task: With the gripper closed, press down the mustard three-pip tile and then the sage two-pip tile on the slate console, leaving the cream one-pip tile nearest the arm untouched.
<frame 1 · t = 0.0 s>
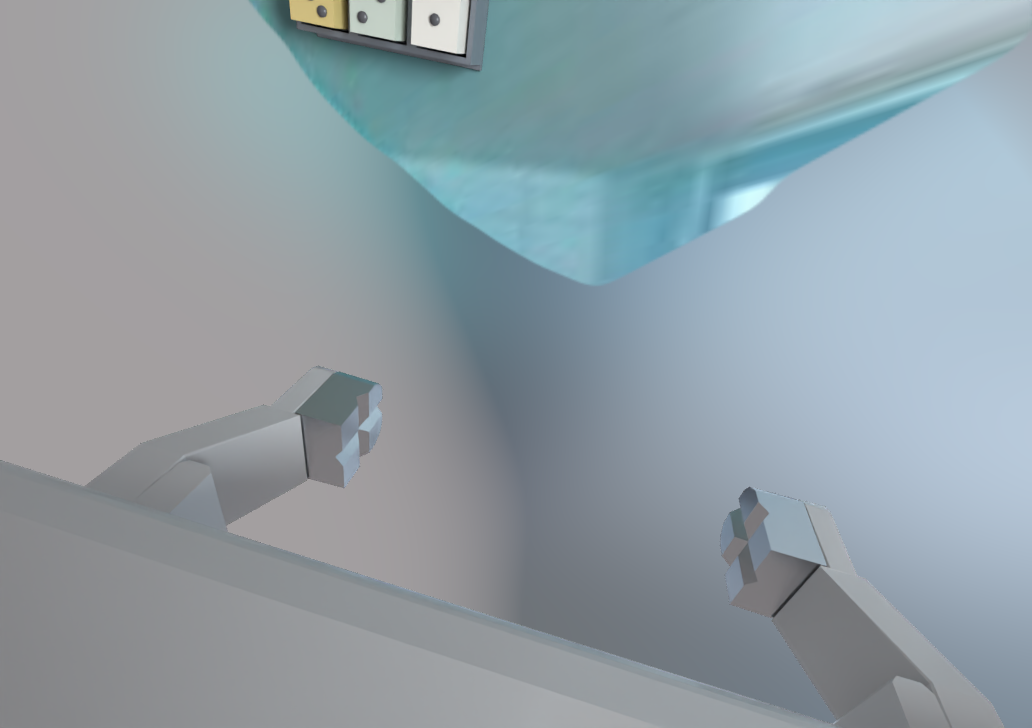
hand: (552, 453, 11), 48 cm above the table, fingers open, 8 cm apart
tile two: (380, 8, 45), point 4 cm above the table, slide at 0.0 cm
tile one: (441, 20, 44), point 4 cm above the table, slide at 0.0 cm
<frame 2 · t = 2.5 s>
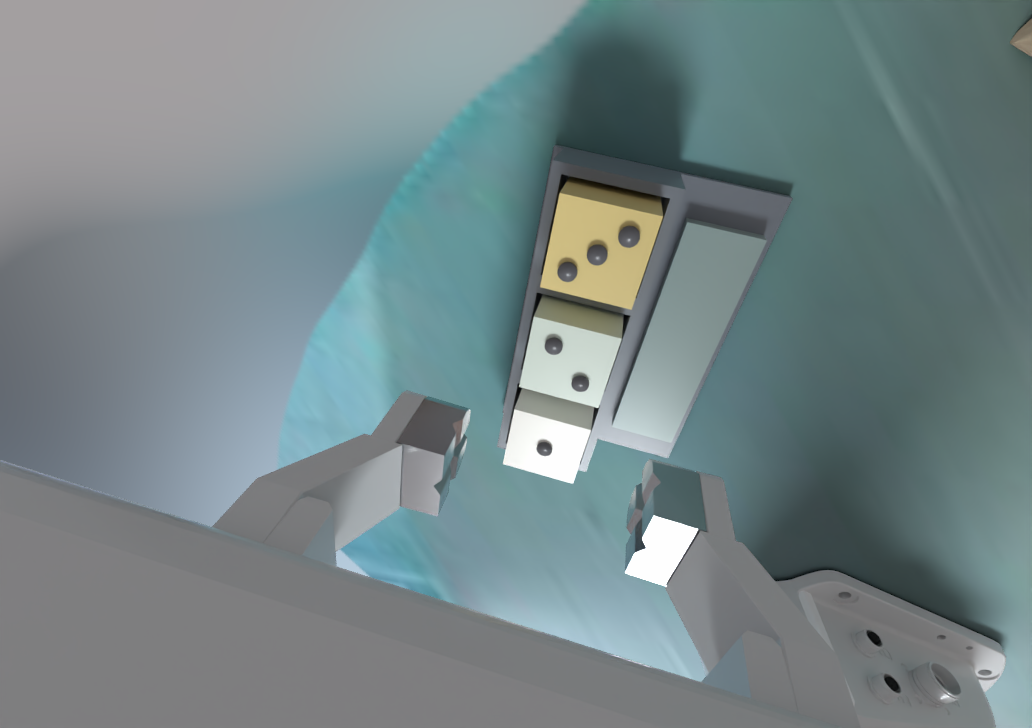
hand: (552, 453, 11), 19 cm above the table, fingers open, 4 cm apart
tile two: (571, 348, 26), point 4 cm above the table, slide at 0.0 cm
console: (620, 322, 29), on the table
tile three: (600, 242, 23), point 4 cm above the table, slide at 0.0 cm
tile one: (549, 429, 29), point 4 cm above the table, slide at 0.0 cm
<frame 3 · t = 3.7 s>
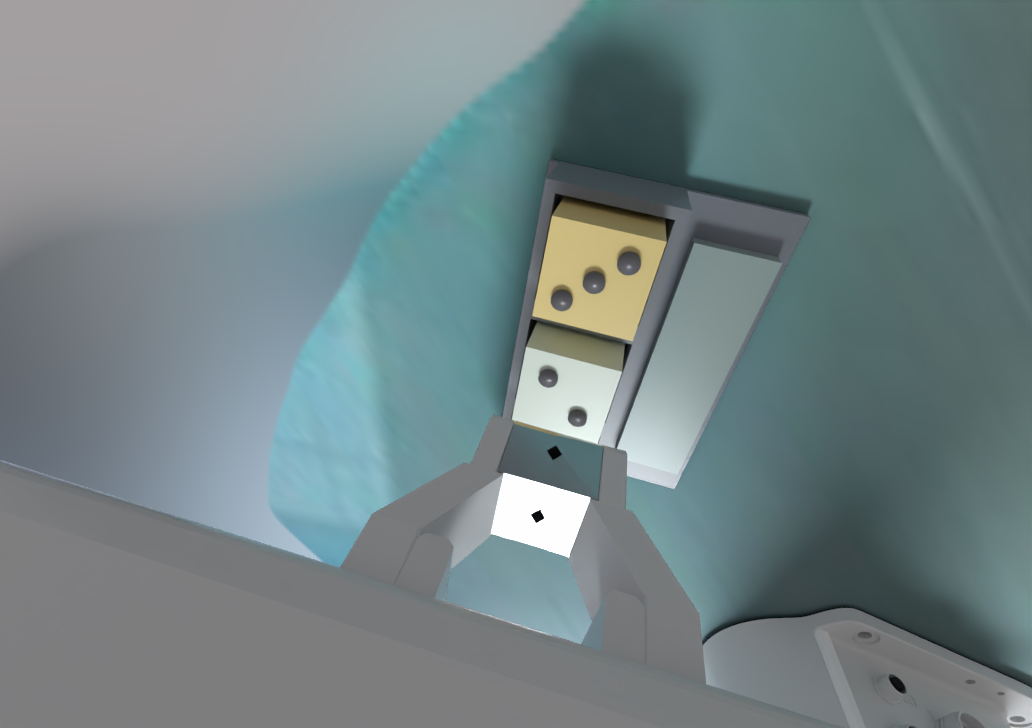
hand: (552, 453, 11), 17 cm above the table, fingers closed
tile two: (568, 378, 24), point 4 cm above the table, slide at 0.0 cm
console: (622, 347, 27), on the table
tile three: (598, 267, 21), point 4 cm above the table, slide at 0.0 cm
tile one: (545, 462, 27), point 4 cm above the table, slide at 0.0 cm
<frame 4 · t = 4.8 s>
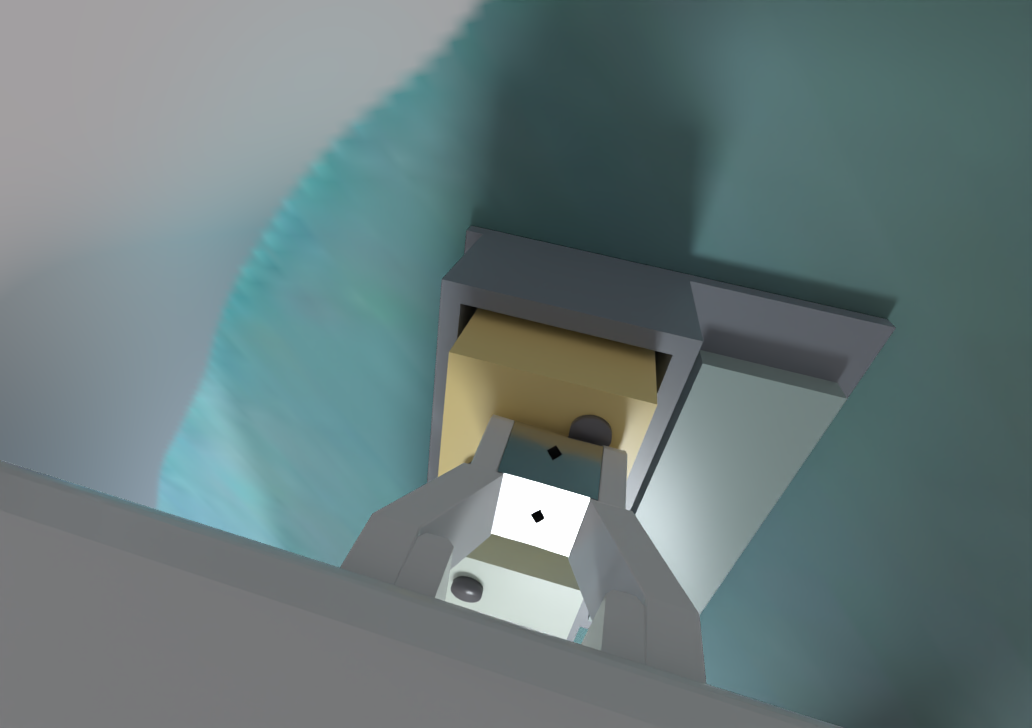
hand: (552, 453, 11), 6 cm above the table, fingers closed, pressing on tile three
tile two: (507, 563, 15), point 4 cm above the table, slide at 0.0 cm
console: (595, 483, 19), on the table
tile three: (544, 411, 12), point 4 cm above the table, slide at 0.5 cm, touching gripper
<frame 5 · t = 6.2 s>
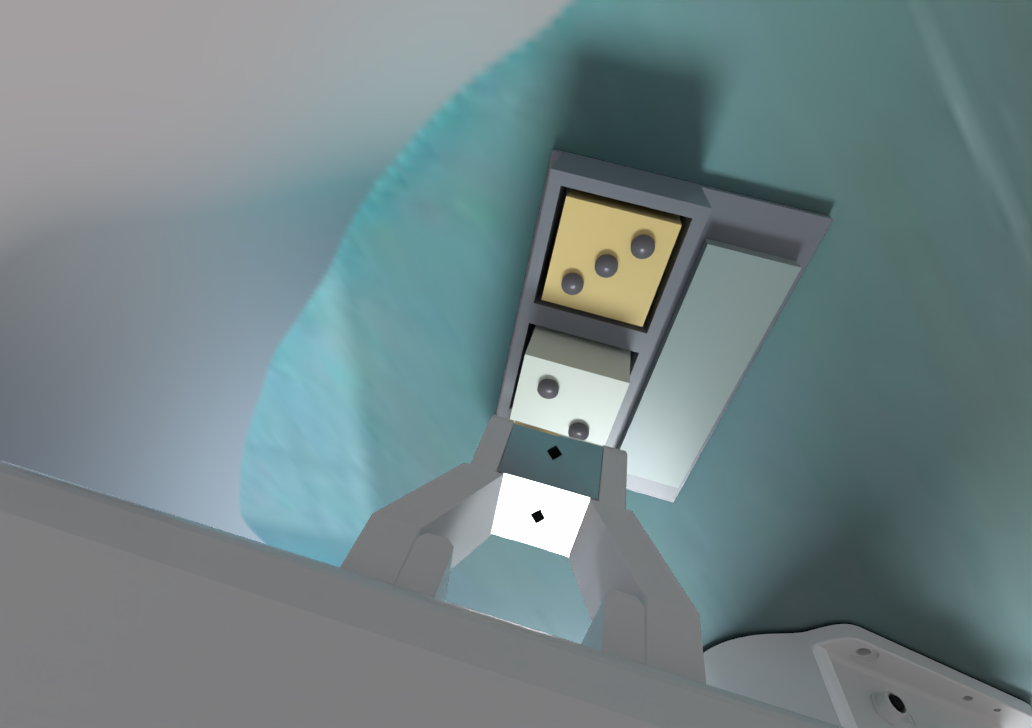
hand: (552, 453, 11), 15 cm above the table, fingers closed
tile two: (568, 387, 22), point 4 cm above the table, slide at 0.0 cm
console: (623, 353, 26), on the table
tile three: (608, 251, 21), point 2 cm above the table, slide at 2.0 cm
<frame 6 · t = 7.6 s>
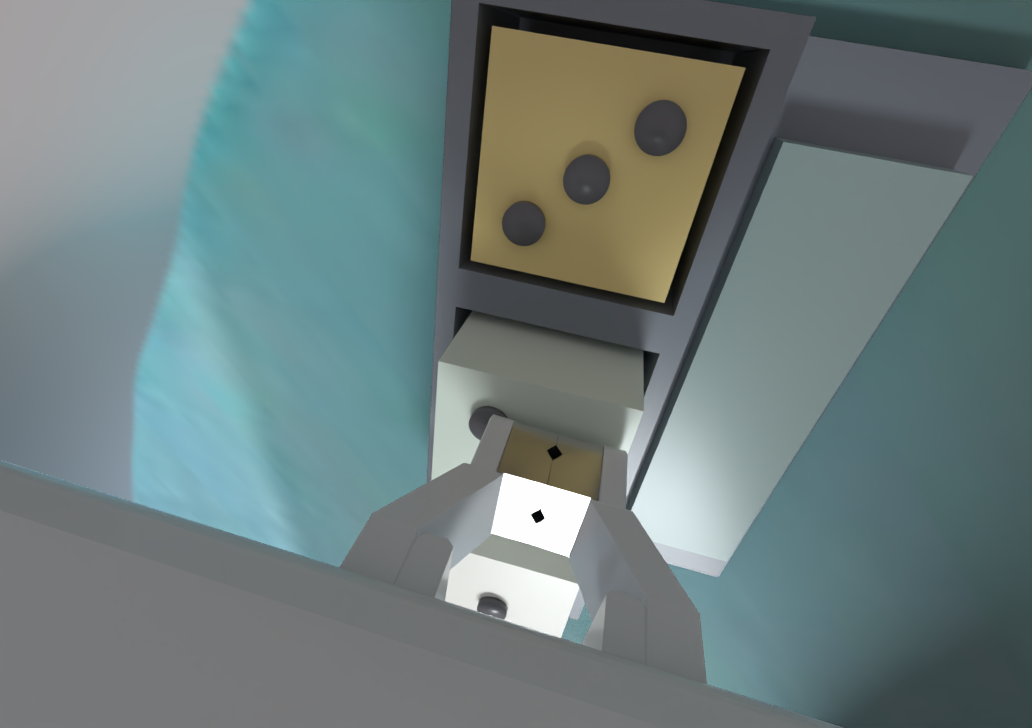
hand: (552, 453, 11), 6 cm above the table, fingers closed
tile two: (536, 417, 13), point 4 cm above the table, slide at 0.1 cm, touching gripper
console: (633, 356, 16), on the table
tile three: (594, 163, 11), point 2 cm above the table, slide at 2.0 cm
tile one: (505, 558, 16), point 4 cm above the table, slide at 0.0 cm
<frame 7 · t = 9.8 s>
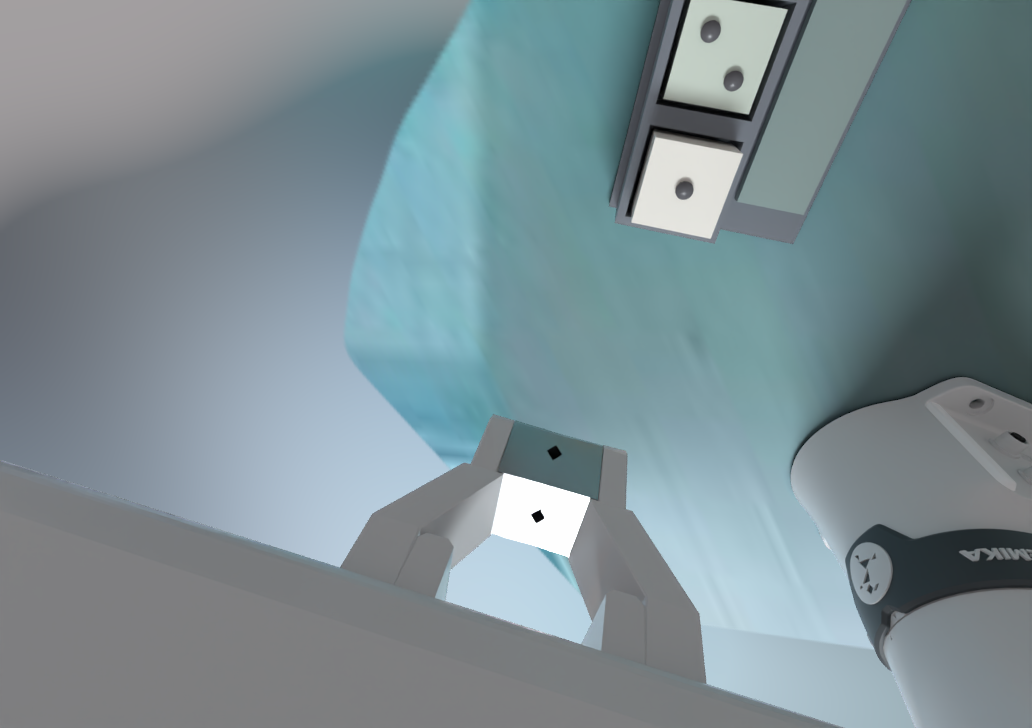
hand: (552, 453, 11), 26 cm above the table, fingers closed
tile two: (717, 56, 25), point 2 cm above the table, slide at 2.0 cm
console: (755, 64, 27), on the table
tile one: (681, 183, 27), point 4 cm above the table, slide at 0.0 cm
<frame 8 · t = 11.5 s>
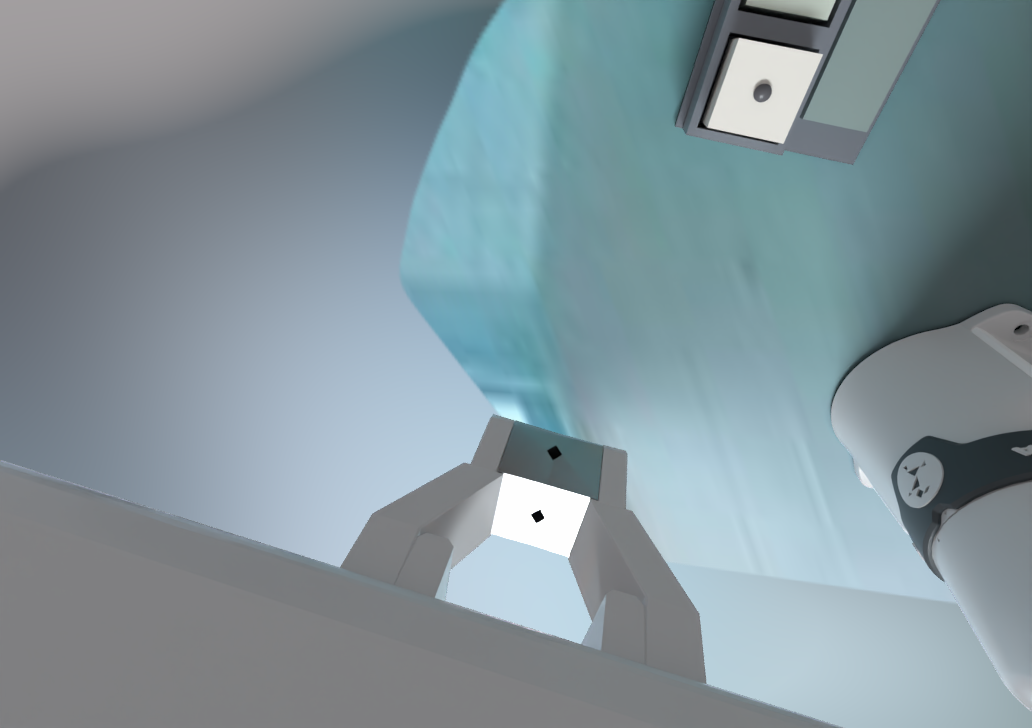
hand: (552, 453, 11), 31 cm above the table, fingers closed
tile one: (756, 91, 28), point 4 cm above the table, slide at 0.0 cm
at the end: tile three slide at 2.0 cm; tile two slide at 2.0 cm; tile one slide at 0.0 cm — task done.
